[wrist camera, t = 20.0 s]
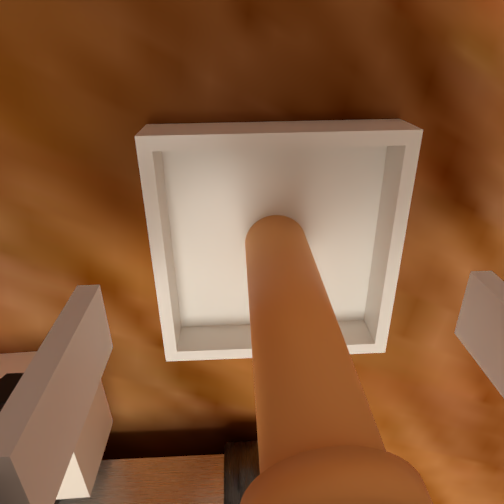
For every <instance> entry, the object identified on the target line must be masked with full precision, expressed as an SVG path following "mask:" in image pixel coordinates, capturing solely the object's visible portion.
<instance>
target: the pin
mask: <svg viewBox="0 0 504 504" xmlns="http://www.w3.org/2000/svg"><path fill="white" fill-rule="evenodd" d="M245 251H246V267H247V282H248V298H249V313H250V329H251V344H252V359H253V375H254V390H255V406H256V421H257V437H258V452H259V468H260V475H258V476H257V477H256V478H255V479H254V480H253V481H252V482H251V484H250V485H249V486H248V488H247V489H246V491H245V492H244V494H243V496H242V499H241V502H240V504H433V503H432V500H431V498H430V496H429V493H428V491H427V489H426V486H425V484H424V482H423V480H422V478H421V476H420V474H419V473H418V472H417V470H416V469H415V468H414V467H413V466H412V465H410V464H409V463H408V462H407V461H405V460H404V459H402V458H400V457H398V456H396V455H394V454H392V453H389V452H386V450H385V447H384V444H383V442H382V439H381V436H380V434H379V431H378V428H377V426H376V423H375V420H374V418H373V415H372V412H371V410H370V407H369V404H368V402H367V399H366V396H365V394H364V391H363V388H362V386H361V383H360V380H359V378H358V375H357V372H356V369H355V367H354V364H353V361H352V359H351V356H350V353H349V351H348V348H347V345H346V343H345V340H344V337H343V335H342V332H341V329H340V327H339V324H338V321H337V319H336V316H335V313H334V311H333V308H332V305H331V303H330V300H329V297H328V295H327V292H326V289H325V287H324V284H323V281H322V279H321V276H320V273H319V271H318V268H317V265H316V263H315V260H314V257H313V255H312V252H311V249H310V247H309V244H308V241H307V239H306V236H305V233H304V231H303V229H302V227H301V226H300V225H299V224H298V223H297V222H296V221H295V220H293V219H292V218H289V217H286V216H282V215H271V216H267V217H264V218H262V219H260V220H258V221H257V222H256V223H255V224H253V226H252V227H251V228H250V229H249V231H248V233H247V235H246V239H245Z"/></svg>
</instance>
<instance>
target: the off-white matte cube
mask: <svg viewBox="0 0 504 504" xmlns="http://www.w3.org/2000/svg"><path fill="white" fill-rule="evenodd" d="M36 352H37V351H34V352H19V353H4V354H0V379H1V378H2V377H3V376H4V375H5V374H7V373H24V372H25V370H26V369H27V367H28V365H29V364H30V362H31V361H32V359H33V357H34V356H35V354H36ZM112 424H113V419H112V415H111V412H110V409H109V405H108V402H107V398H106V395H105V391H104V388H103V384H102V381H101V380H100V383H99V386H98V388H97V391H96V394H95V396H94V399H93V402H92V404H91V407H90V410H89V412H88V415H87V418H86V420H85V423H84V426H83V428H82V431H81V434H80V436H79V439H78V442H77V444H76V447H75V450H74V452H73V455H72V458H71V460H70V463H69V466H68V468H67V471H66V474H65V476H64V479H63V482H62V484H61V487H60V490H59V492H58V495H57V497H56V500H57V499H70V498H84V497H90V496H91V492H92V489H93V486H94V483H95V479H96V476H97V473H98V470H99V466H100V463H101V460H102V457H103V453H104V450H105V447H106V444H107V440H108V437H109V434H110V431H111V427H112Z"/></svg>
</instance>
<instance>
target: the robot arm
mask: <svg viewBox="0 0 504 504" xmlns="http://www.w3.org/2000/svg"><path fill="white" fill-rule="evenodd" d="M454 333H455V334H456V336H457V337H458V338H459V340H460V341H461V342H462V344H463V345H464V346H465V348H466V349H467V350H468V352H469V353H470V354H471V356H472V357H473V358H474V360H475V361H476V362H477V363H478V365H479V366H480V367H481V369H482V370H483V371H484V373H485V374H486V375H487V377H488V378H489V379H490V381H491V382H492V383H493V385H494V386H495V387H496V389H497V390H498V391H499V393H500V394H501V395H502V397H503V398H504V281H503V280H501V279H500V278H499V277H498V276H497V275H496V274H495V273H494V272H492V271H471V272H470V276H469V280H468V284H467V287H466V291H465V295H464V299H463V302H462V306H461V310H460V314H459V317H458V321H457V325H456V329H455V332H454ZM112 348H113V344H112V340H111V335H110V330H109V326H108V321H107V316H106V312H105V307H104V302H103V298H102V293H101V288H100V285H79V286H77V287H76V289H75V290H74V292H73V293H72V295H71V297H70V298H69V300H68V302H67V303H66V305H65V307H64V308H63V310H62V311H61V313H60V315H59V316H58V318H57V320H56V321H55V323H54V325H53V326H52V328H51V329H50V331H49V333H48V334H47V336H46V338H45V339H44V341H43V343H42V344H41V346H40V347H39V349H38V351H37V352H36V354H35V356H34V357H33V359H32V361H31V362H30V364H29V365H28V367H27V369H26V370H25V372H24V373H7V374H5V375H4V376H3V377H2V378H1V379H0V504H54V503H55V500H56V497H57V495H58V492H59V490H60V487H61V484H62V482H63V479H64V476H65V474H66V471H67V468H68V466H69V463H70V460H71V458H72V455H73V452H74V450H75V447H76V444H77V442H78V439H79V436H80V434H81V431H82V428H83V426H84V423H85V420H86V418H87V415H88V412H89V410H90V407H91V404H92V402H93V399H94V396H95V394H96V391H97V388H98V386H99V383H100V380H101V378H102V375H103V372H104V370H105V367H106V364H107V362H108V359H109V356H110V354H111V351H112Z"/></svg>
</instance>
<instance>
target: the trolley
mask: <svg viewBox="0 0 504 504" xmlns="http://www.w3.org/2000/svg"><path fill="white" fill-rule="evenodd" d="M258 475H260V468H259V452H258V441H238V442H225V448H224V454H219V455H198V456H177V457H156V458H135V459H114V460H101V463H100V466H99V470H98V473H97V476H96V479H95V483H94V486H93V489H92V492H91V496H90V497H84V498H70V499H57V500H55V503H54V504H240V502H241V499H242V496H243V494H244V492H245V491H246V489H247V488H248V486H249V485H250V484H251V482H252V481H253V480H254V479H255V478H256V477H257V476H258Z"/></svg>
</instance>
